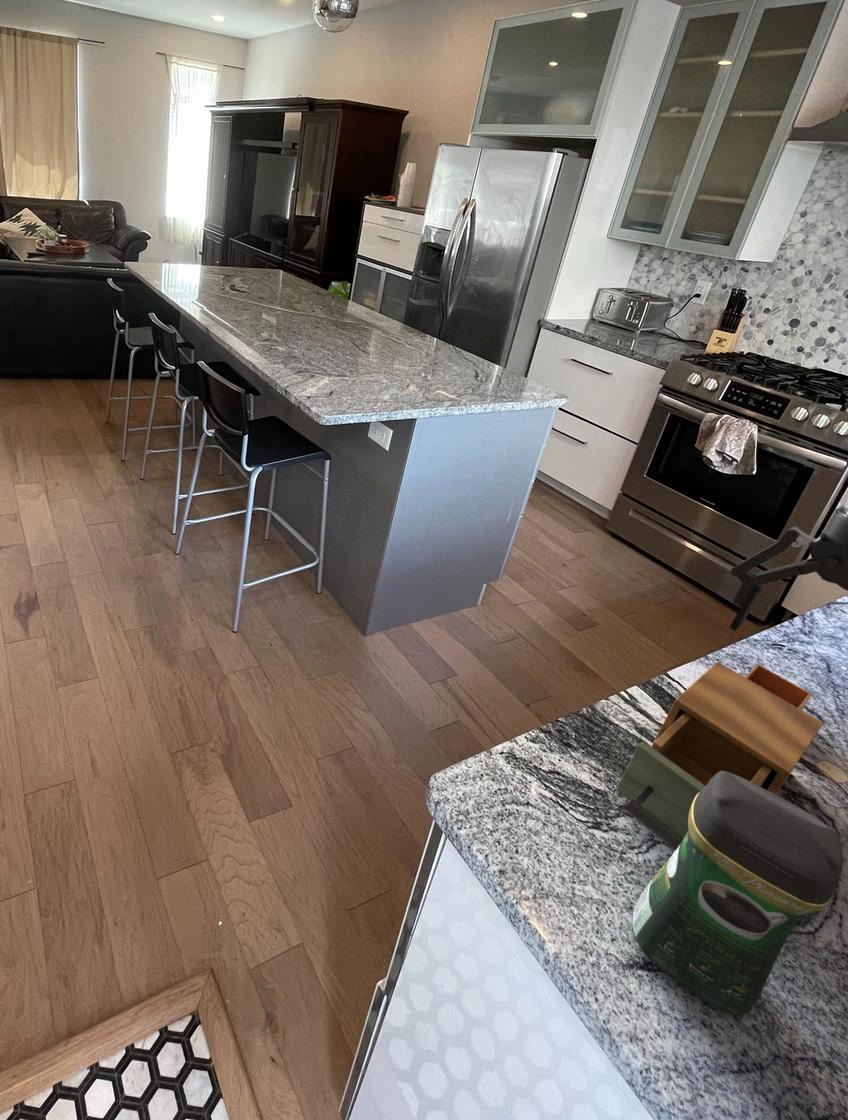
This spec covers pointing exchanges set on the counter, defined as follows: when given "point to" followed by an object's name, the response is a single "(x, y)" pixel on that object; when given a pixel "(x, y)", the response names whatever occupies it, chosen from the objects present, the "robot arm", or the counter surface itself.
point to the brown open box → (779, 686)
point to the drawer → (681, 775)
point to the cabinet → (748, 720)
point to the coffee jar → (735, 891)
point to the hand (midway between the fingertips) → (792, 657)
